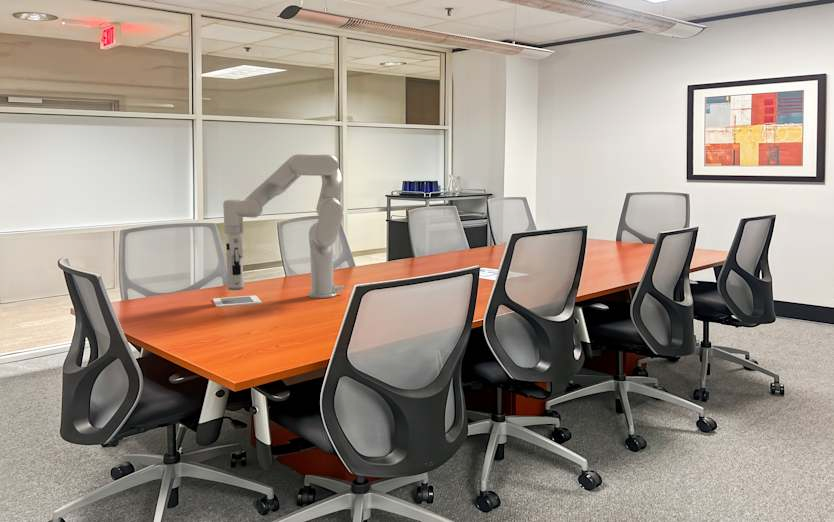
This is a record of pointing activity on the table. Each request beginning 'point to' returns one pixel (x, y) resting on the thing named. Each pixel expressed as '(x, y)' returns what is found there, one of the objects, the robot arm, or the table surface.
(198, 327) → the table surface
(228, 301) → the card
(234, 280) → the travel mug
